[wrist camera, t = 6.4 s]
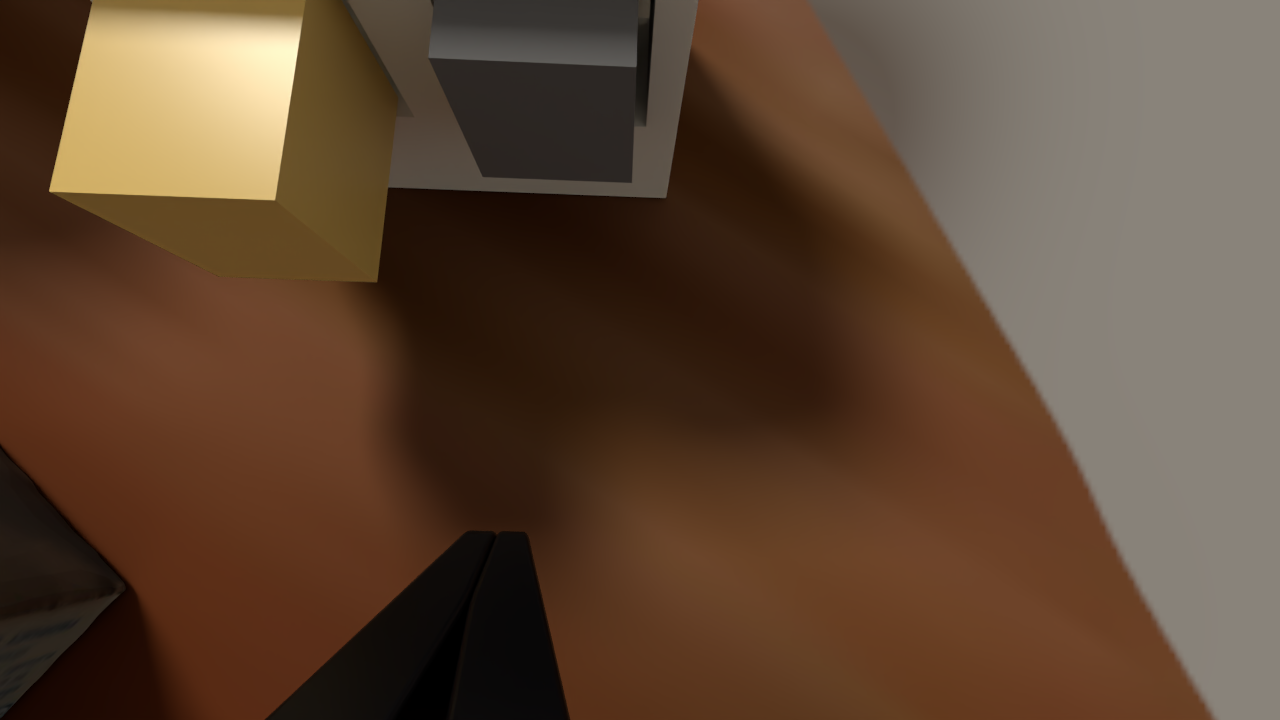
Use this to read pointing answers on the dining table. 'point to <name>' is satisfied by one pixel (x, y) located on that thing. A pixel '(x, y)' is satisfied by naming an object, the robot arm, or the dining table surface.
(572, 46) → the charcoal button
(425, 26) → the console
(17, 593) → the beverage carton
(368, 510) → the dining table surface
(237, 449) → the dining table surface
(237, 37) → the amber button
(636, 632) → the dining table surface
